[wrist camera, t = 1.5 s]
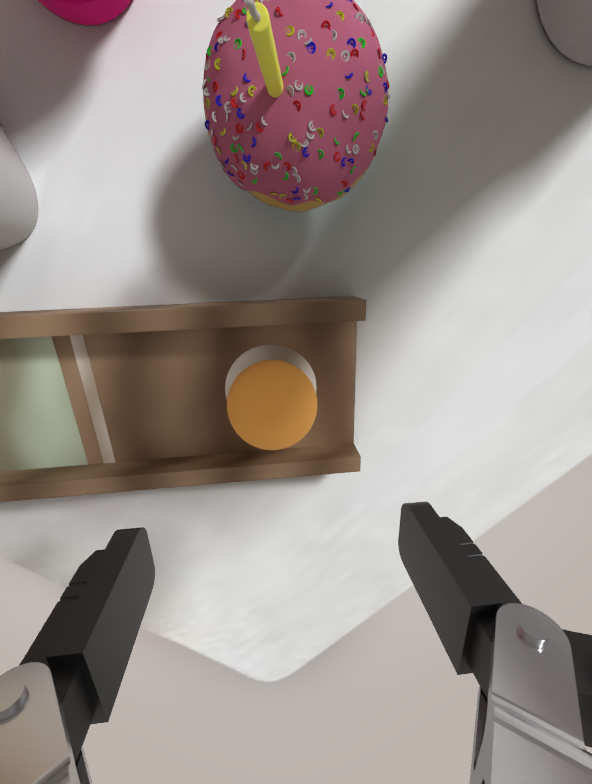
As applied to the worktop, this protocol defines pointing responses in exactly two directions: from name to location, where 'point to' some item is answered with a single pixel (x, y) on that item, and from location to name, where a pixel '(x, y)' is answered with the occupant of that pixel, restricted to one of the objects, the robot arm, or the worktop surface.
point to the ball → (272, 404)
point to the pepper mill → (87, 10)
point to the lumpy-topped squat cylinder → (15, 196)
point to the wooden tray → (165, 394)
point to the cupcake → (295, 98)
